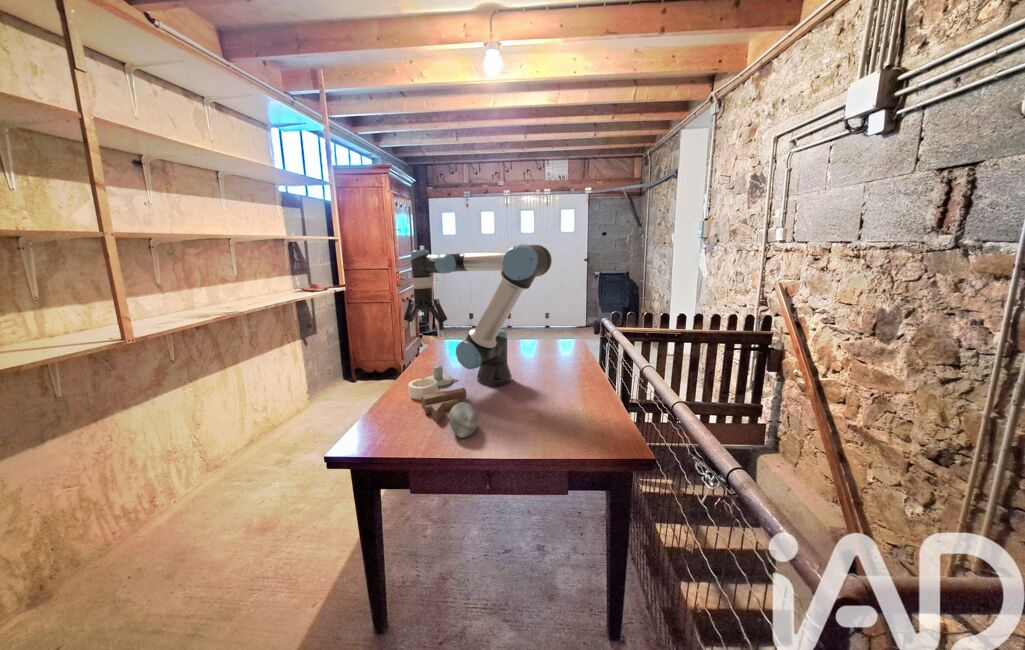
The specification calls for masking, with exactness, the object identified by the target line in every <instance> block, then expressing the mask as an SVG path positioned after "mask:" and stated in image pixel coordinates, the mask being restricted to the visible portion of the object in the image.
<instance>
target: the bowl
mask: <svg viewBox="0 0 1025 650" xmlns="http://www.w3.org/2000/svg"><path fill="white" fill-rule="evenodd" d="M407 391H408V396H409V398H411V399H412V400H413V399H414V400H421V396H422V395H426V394H431V393H436V392H439V390H438V384H437V381H436V380H435V379H430V378H426V377H424V378H417V379H413V380H410V381H409V383H407Z"/></svg>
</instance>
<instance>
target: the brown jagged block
mask: <svg viewBox="0 0 1025 650" xmlns="http://www.w3.org/2000/svg"><path fill="white" fill-rule="evenodd" d="M466 399H467V389H466V388H464V387H461V388H456V389H451V390H446V391H445V390H442V391H441V390H440V391H438V392H436V393H431V394H426V395H422V396H421V399H420V401H421V407H422V409H424V410H423V411H424V413H425V415H426V416H428V415H431V419H433V420H434V422H435V423H436V424H438V423H440V421H441V420H442V419H444V416H445V415H446V412H447V411H451V409H452V408H453V406H455V405H456V404H458V403H460V402H465V401H466Z"/></svg>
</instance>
